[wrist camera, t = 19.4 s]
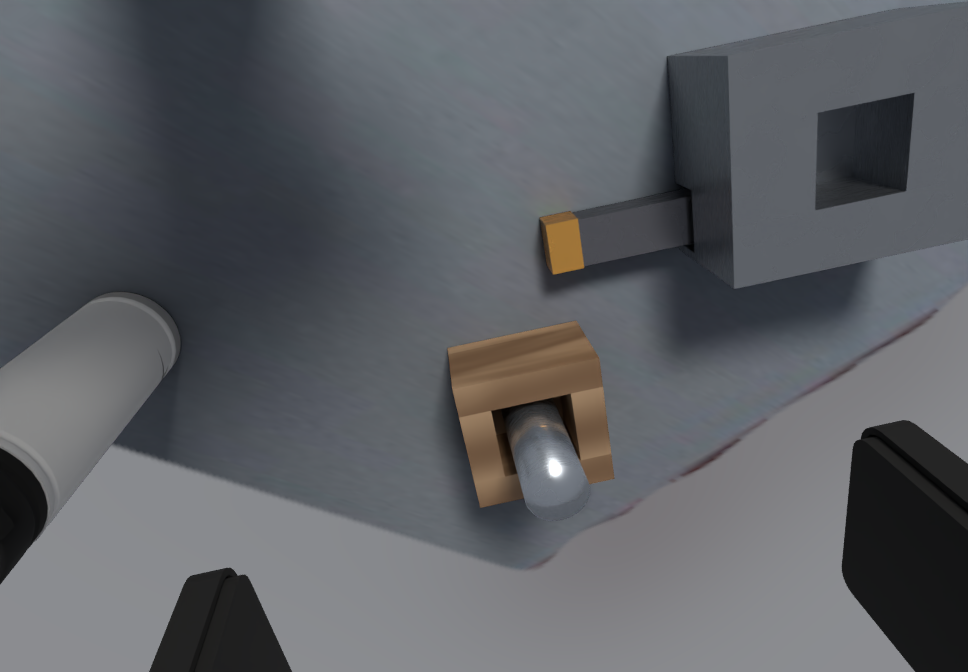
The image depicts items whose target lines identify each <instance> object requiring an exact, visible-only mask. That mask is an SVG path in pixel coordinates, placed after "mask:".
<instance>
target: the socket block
mask: <svg viewBox="0 0 968 672" xmlns="http://www.w3.org/2000/svg"><path fill="white" fill-rule="evenodd" d="M667 58H668V74H669V90H670V106H671V122H672V137H673V153H674V169H675V183H677V184H680V185H682V186H684V187H686V188H688V189H690V190H691V191H692V210H693V229H694V243H692V244H687V245H682V246H679V248H680V250H681V251H682V252H684V253H685V254H686V255H688V256H689V257H690V258H692V259H693V260H695V261H696V262H697V263H699V264H700V265H702V266H703V267H704V268H706V269H707V270H709V271H710V272H711V273H713V274H714V275H715V276H717V277H718V278H720V279H721V280H722V281H724V282H725V283H727V284H728V285H729V286H731V287H732V288H733V289H737V288H742V287H747V286H751V285H756V284H761V283H765V282H770V281H775V280H779V279H784V278H789V277H794V276H798V275H803V274H808V273H812V272H817V271H822V270H826V269H831V268H836V267H840V266H845V265H850V264H855V263H859V262H864V261H869V260H873V259H878V258H883V257H887V256H892V255H897V254H901V253H906V252H911V251H916V250H920V249H925V248H930V247H934V246H939V245H944V244H948V243H953V242H958V241H962V240H967V239H968V1H967V2H957V3H948V4H938V5H928V6H918V7H909V8H899V9H893V10H888V11H884V12H879V13H874V14H869V15H864V16H859V17H855V18H850V19H845V20H840V21H835V22H830V23H826V24H821V25H816V26H811V27H806V28H801V29H797V30H792V31H787V32H782V33H777V34H772V35H767V36H763V37H758V38H753V39H748V40H743V41H738V42H734V43H729V44H724V45H719V46H714V47H709V48H705V49H700V50H695V51H690V52H685V53H680V54H676V55H671V56H667Z"/></svg>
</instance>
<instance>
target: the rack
mask: <svg viewBox="0 0 968 672" xmlns="http://www.w3.org/2000/svg"><path fill="white" fill-rule="evenodd" d="M448 356H449V365H450V373H451V382H452V390H453V394H454V399H455V403H456V407H457V411H458V415H459V420H460V424H461V428H462V432H463V437H464V441H465V445H466V449H467V453H468V458H469V462H470V466H471V470H472V475H473V479H474V483H475V487H476V492H477V496H478V500H479V504H480V508H482V507H487V506H491V505H496V504H500V503H505V502H510V501H514V500H519V499H523V498H524V496H523V492H522V488H521V484H520V481H519V477H518V473H517V470H516V466H515V462H514V458H513V455H512V451H511V447H510V443H509V440H508V436H507V432H506V429H505V425H504V421H503V417H502V414H501V410H500V409H502V408H506V407H511V406H516V405H520V404H525V403H530V402H534V401H539V400H544V399H548V398H553V401H554V403H555V405H556V408H557V410H558V412H559V415H560V417H561V419H562V421H563V424H564V426H565V428H566V431H567V433H568V435H569V438H570V440H571V442H572V445H573V447H574V449H575V452H576V454H577V456H578V459H579V461H580V463H581V466H582V468H583V470H584V473H585V475H586V477H587V480H588V482H589V484H592V483H597V482H602V481H606V480H611V479H614V472H613V464H612V456H611V448H610V440H609V432H608V424H607V416H606V408H605V400H604V392H603V384H602V376H601V369H600V361H599V357H598V355H597V354H596V352H595V350H594V349H593V347H592V346H591V344H590V342H589V341H588V339H587V337H586V336H585V334H584V333H583V331H582V329H581V328H580V326H579V325H578V323H577V321H572V322H568V323H563V324H558V325H554V326H549V327H544V328H540V329H535V330H530V331H525V332H521V333H516V334H511V335H507V336H502V337H497V338H493V339H488V340H483V341H479V342H474V343H469V344H464V345H460V346H455V347H450V348H448Z"/></svg>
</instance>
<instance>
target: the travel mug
mask: <svg viewBox="0 0 968 672" xmlns="http://www.w3.org/2000/svg"><path fill="white" fill-rule="evenodd" d="M180 347H181V342H180V335H179V331H178V328H177V326H176V324H175V322H174V321H173V319H172V318H171V316H170V315H169V314H168V313H167V312H166V311H165V310H164V309H163V308H162V307H161V306H160V305H158V304H157V303H155V302H154V301H152V300H150V299H148V298H146V297H143V296H141V295H138V294H134V293H129V292H112V293H107V294H104V295H101V296H98V297H96V298H95V299H93V300H91V301H90V302H88V303H87V304H86V305H84V306H83V307H82V308H81V309H79V310H78V311H76V312H75V313H74V314H72V315H71V316H70V317H68V318H67V319H66V320H64V321H63V322H62V323H60V324H59V325H58V326H56V327H55V328H54V329H52V330H51V331H50V332H48V333H47V334H46V335H45V336H43V337H42V338H41V339H39V340H38V341H37V342H35V343H34V344H33V345H31V346H30V347H29V348H27V349H26V350H25V351H23V352H22V353H21V354H19V355H18V356H17V357H15V358H14V359H13V360H11V361H10V362H9V363H7V364H6V365H5V366H3V367H2V368H1V369H0V584H1V583H2V581H3V580H4V579H5V578H6V576H7V575H8V574H9V573H10V571H11V570H12V569H13V568H14V566H15V565H16V564H17V562H18V561H19V560H20V559H21V557H22V556H23V555H24V553H25V552H26V550H27V549H28V548H29V547H30V546H31V545H32V543H33V542H34V541H35V540H37V539H38V538H39V537H40V535H41V534H42V533H43V531H44V530H45V529H46V527H47V526H48V525H49V524H50V523H51V521H52V520H53V519H54V518H55V516H56V515H57V514H58V512H59V511H60V510H61V509H62V507H63V506H64V505H65V503H66V502H67V501H68V499H69V498H70V497H71V496H72V495H73V493H74V492H75V491H76V489H77V488H78V487H79V486H80V484H81V483H82V482H83V480H84V479H85V478H86V477H87V475H88V474H89V473H90V471H91V470H92V469H93V468H94V466H95V465H96V464H97V463H98V461H99V460H100V459H101V457H102V456H103V455H104V453H105V452H106V451H107V450H108V448H109V447H110V446H111V445H112V443H113V442H114V441H115V440H116V438H117V437H118V436H119V434H120V433H121V432H122V431H123V429H124V428H125V427H126V425H127V424H128V423H129V422H130V420H131V419H132V418H133V417H134V415H135V414H136V413H137V411H138V410H139V409H140V408H141V406H142V405H143V404H144V402H145V401H146V400H147V399H148V397H149V396H150V395H151V393H152V392H153V391H154V390H155V388H156V387H157V386H158V385H159V383H160V382H161V381H162V379H163V378H164V377H165V376H166V374H167V373H168V372H169V370H170V369H171V368H172V367H173V365H174V364H175V362H176V361H177V358H178V356H179V353H180Z"/></svg>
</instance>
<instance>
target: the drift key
mask: <svg viewBox="0 0 968 672" xmlns="http://www.w3.org/2000/svg"><path fill="white" fill-rule="evenodd" d="M540 224H541V230H542V237H543V243H544V250H545V256H546V263H547V266H548V268H549V269H550V271H551V272H552V274H553V275H554V274H559V273H563V272H568V271H573V270H578V269H582V268H584V266H588V265H593V264H597V263H602V262H607V261H612V260H616V259H621V258H626V257H630V256H635V255H640V254H645V253H649V252H654V251H659V250H663V249H668V248H673V247H678V246H682V245H687V244H692V243H694V229H693V210H692V191H691V190H690V189H688V188H686V189H681V190H677V191H672V192H667V193H662V194H658V195H653V196H648V197H643V198H639V199H634V200H629V201H624V202H620V203H615V204H610V205H605V206H601V207H596V208H591V209H586V210H582V211H577V212H571V211H568V212H564V213H559V214H554V215H549V216H545V217H540Z"/></svg>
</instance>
